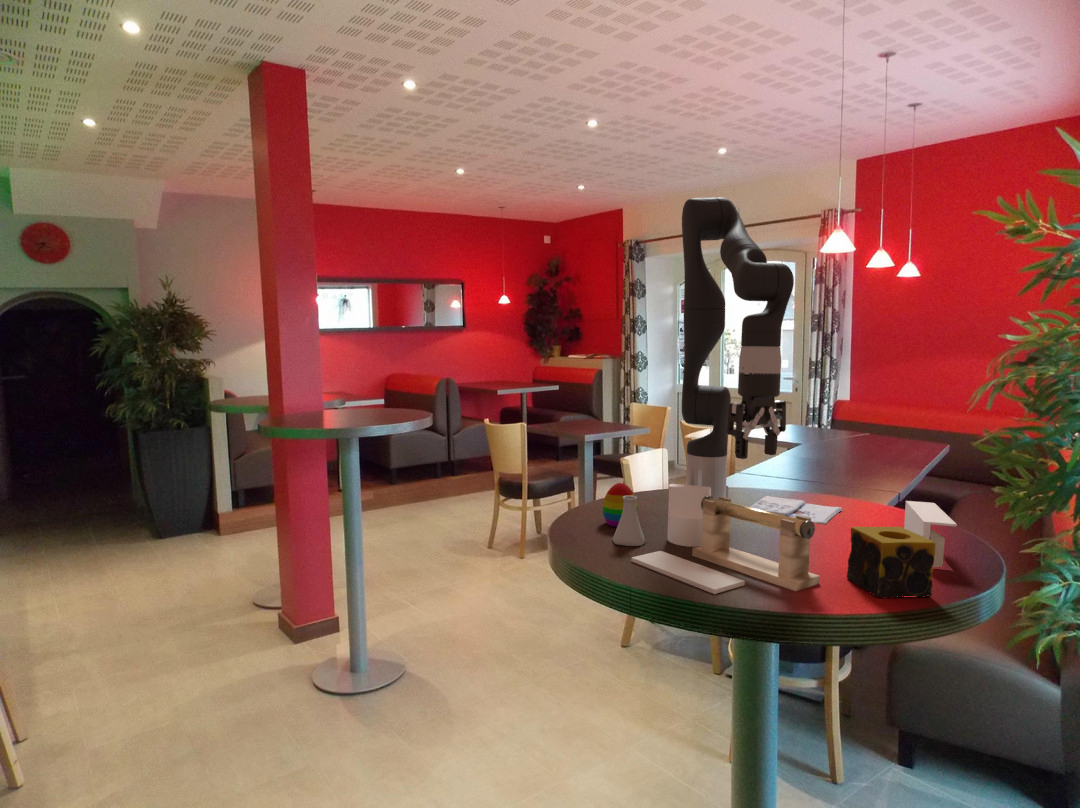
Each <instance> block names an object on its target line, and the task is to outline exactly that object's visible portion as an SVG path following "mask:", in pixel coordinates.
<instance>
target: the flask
mask: <svg viewBox="0 0 1080 808" xmlns="http://www.w3.org/2000/svg"><path fill="white" fill-rule="evenodd" d="M623 500H624V507H623V512H622V516H621V518H620V521H619V524H618V527H616V530H615V533H614V535H613V537H612V541H613V543H614V544H615V545H619V546H625V547H639V546H640V547H642V546H643V545H644V544H646V542H647V541H646V538H645V536H644V532H643V529H642V526H641V524H640V520H639V517H638V509H637V510H636V501H637V500H638V497H637V496H636V495H635V496H623Z"/></svg>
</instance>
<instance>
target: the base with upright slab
mask: <svg viewBox="0 0 1080 808" xmlns="http://www.w3.org/2000/svg"><path fill="white" fill-rule="evenodd" d="M705 496H711V487H706V486H693V485H686V484H681V483H679V484H676V483H670V484H669V485H668V511H667V515H668V517H667V541H668V542H669V543H671V544H672V545H673V544H674V545H677V546H682V547H683V546H684V547H692V548H696V547H700V546H702V522H703V510H702V508H701V501H702V499H703V498H704V497H705Z"/></svg>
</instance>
